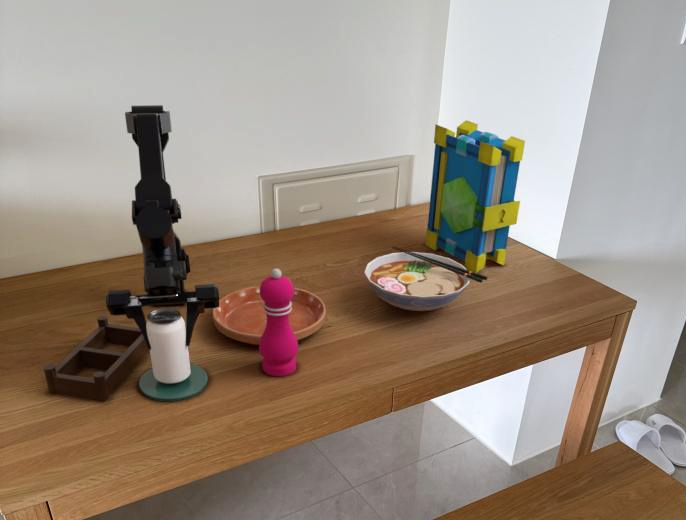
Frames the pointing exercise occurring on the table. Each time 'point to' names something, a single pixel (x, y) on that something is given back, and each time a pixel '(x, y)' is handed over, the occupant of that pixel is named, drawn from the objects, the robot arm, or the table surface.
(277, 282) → the pepper mill
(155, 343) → the can
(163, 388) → the coaster
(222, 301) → the saucer
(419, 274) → the ramen bowl
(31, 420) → the table surface
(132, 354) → the rack
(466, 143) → the decorative book
